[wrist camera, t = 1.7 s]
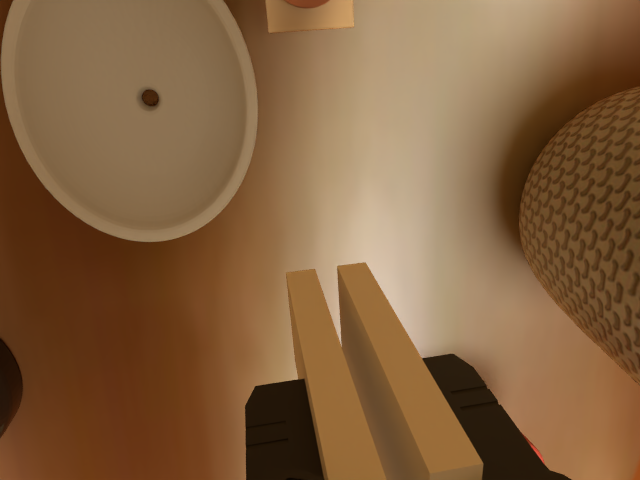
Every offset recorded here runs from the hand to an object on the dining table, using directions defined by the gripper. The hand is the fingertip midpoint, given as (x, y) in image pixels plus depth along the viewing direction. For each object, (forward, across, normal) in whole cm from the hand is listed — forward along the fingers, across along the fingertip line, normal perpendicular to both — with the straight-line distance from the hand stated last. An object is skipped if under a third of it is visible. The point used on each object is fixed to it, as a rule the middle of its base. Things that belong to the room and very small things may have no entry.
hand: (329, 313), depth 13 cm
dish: (+25, -8, +4) cm, 26 cm away
